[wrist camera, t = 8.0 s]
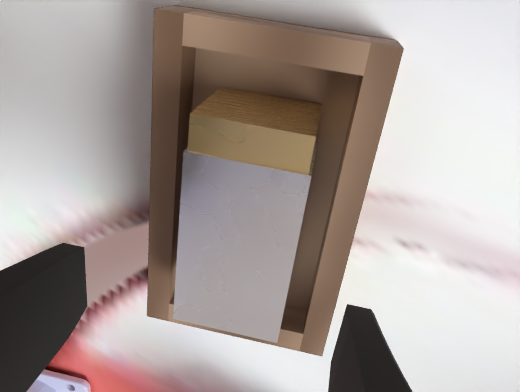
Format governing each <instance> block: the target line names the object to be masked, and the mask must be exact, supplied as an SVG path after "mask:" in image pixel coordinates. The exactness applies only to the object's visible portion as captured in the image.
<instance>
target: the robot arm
mask: <svg viewBox="0 0 520 392" xmlns="http://www.w3.org/2000/svg"><path fill="white" fill-rule="evenodd" d="M86 307H87V293H86V274H85V254H84V247H80V246H75V245H71V244H66V243H62V244H59V245H57V246H54V247H52V248H49V249H47V250H45V251H43V252H40V253H38V254H36V255H34V256H32V257H30V258H27V259H25V260H23V261H21V262H19V263H17V264H14V265H12V266H10V267H8V268H5V269H3V270H1V271H0V392H91V387H90V384H89V383H88V381H86V380H84V379H81V378H77V377H73V376H69V375H65V374H61V373H57V372H53V371H49V370H45V368H46V366H47V365H48V364H49V363H50V361H51V360H52V359H53V357H54V356H55V355H56V354H57V352H58V351H59V350H60V348H61V347H62V346H63V344H64V343H65V342H66V340H67V339H68V338H69V336H70V335H71V333H72V331H73V330H74V328H75V326H76V325H77V323H78V321H79V320H80V318H81V316H82V314H83V313H84V311H85V309H86ZM328 392H412V390H411V388H410V387H409V385H408V383H407V381H406V379H405V378H404V376H403V374H402V372H401V370H400V368H399V366H398V364H397V363H396V361H395V359H394V357H393V355H392V353H391V351H390V349H389V346H388V344H387V342H386V340H385V338H384V336H383V334H382V331H381V329H380V327H379V325H378V322H377V320H376V318H375V315H374V313H373V312H372V310H371V309H367V308H362V307H358V306H353V305H349V304H347V307H346V310H345V314H344V317H343V321H342V324H341V328H340V332H339V335H338V339H337V342H336V346H335V350H334V353H333V357H332V360H331V368H330V379H329V390H328Z"/></svg>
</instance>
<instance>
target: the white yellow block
mask: <svg viewBox="0 0 520 392" xmlns="http://www.w3.org/2000/svg"><path fill="white" fill-rule="evenodd" d="M321 109H322V104H317V103H311V102H306V101H300V100H295V99H289V98H283V97H278V96H272V95H267V94H261V93H255V92H250V91H244V90H239V89H233V88H227V87H220V88H219V89H218V90H217V91H216V92H215V93H213V94H212V95H211V96H210V97H209V98H207V99H206V100H205V101H204V102H203V103H202V104H200V105H199V106H198V107H197V108H196V109H194V110H193V111H192V112H191V113H190V121H189V136H188V147H187V148H186V149H185V150H184V151H183V166H182V182H181V198H180V214H179V231H178V247H177V263H176V279H175V295H174V312H173V319H175V320H180V321H184V322H188V323H192V324H197V325H201V326H205V327H210V328H214V329H218V330H223V331H227V332H231V333H236V334H240V335H244V336H248V337H253V338H257V339H261V340H266V341H270V342H274V343H277V342H278V337H279V332H280V327H281V323H282V318H283V313H284V308H285V303H286V298H287V293H288V288H289V284H290V279H291V274H292V269H293V264H294V259H295V254H296V249H297V245H298V240H299V235H300V230H301V225H302V220H303V215H304V211H305V206H306V201H307V196H308V191H309V186H310V181H311V176H312V171H313V165H314V160H315V154H316V149H317V144H318V138H319V135H317V130H318V125H319V120H320V115H321Z"/></svg>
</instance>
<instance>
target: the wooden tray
mask: <svg viewBox="0 0 520 392" xmlns="http://www.w3.org/2000/svg"><path fill="white" fill-rule="evenodd" d="M403 49H404V48H403V47H402V46H401V45H400V43H399V42H398V41H396V40H390V39H384V38H377V37H371V36H365V35H359V34H352V33H346V32H340V31H333V30H327V29H321V28H314V27H308V26H302V25H296V24H289V23H283V22H277V21H270V20H264V19H258V18H251V17H245V16H239V15H233V14H226V13H220V12H214V11H207V10H201V9H195V8H188V7H182V6H176V5H174V6H168V7H161V8H154V35H153V79H152V123H151V166H150V210H149V254H148V255H149V257H148V297H147V316H149V317H153V318H157V319H162V320H166V321H170V322H175V323H179V324H183V325H188V326H192V327H197V328H201V329H205V330H210V331H214V332H218V333H223V334H227V335H231V336H236V337H240V338H244V339H249V340H253V341H257V342H262V343H266V344H271V345H275V346H279V347H284V348H288V349H292V350H297V351H301V352H305V353H310V354H314V355H318V356H322V355H323V351H324V347H325V343H326V339H327V336H328V332H329V328H330V324H331V321H332V317H333V313H334V309H335V306H336V302H337V298H338V294H339V291H340V287H341V283H342V279H343V275H344V272H345V268H346V264H347V260H348V257H349V253H350V249H351V245H352V242H353V238H354V234H355V230H356V226H357V223H358V219H359V215H360V211H361V208H362V204H363V200H364V196H365V193H366V189H367V185H368V181H369V177H370V174H371V170H372V166H373V162H374V159H375V155H376V151H377V147H378V144H379V140H380V136H381V132H382V129H383V125H384V121H385V117H386V113H387V110H388V106H389V102H390V98H391V95H392V91H393V87H394V83H395V80H396V76H397V72H398V68H399V64H400V61H401V57H402V53H403ZM220 87H227V88H233V89H239V90H244V91H250V92H255V93H261V94H267V95H272V96H278V97H283V98H289V99H295V100H300V101H306V102H311V103H317V104H322V109H321V115H320V120H319V125H318V130H317V135H319V138H318V144H317V149H316V154H315V160H314V165H313V171H312V176H311V181H310V186H309V191H308V196H307V201H306V206H305V211H304V215H303V220H302V225H301V230H300V235H299V240H298V245H297V249H296V254H295V259H294V264H293V269H292V274H291V279H290V284H289V288H288V293H287V298H286V303H285V308H284V313H283V318H282V323H281V327H280V332H279V337H278V342H277V343H274V342H270V341H266V340H261V339H257V338H253V337H248V336H244V335H240V334H236V333H231V332H227V331H223V330H218V329H214V328H210V327H205V326H201V325H197V324H192V323H188V322H184V321H180V320H175V319H173V312H174V295H175V279H176V263H177V247H178V231H179V214H180V198H181V182H182V166H183V151H184V150H185V149H186V148H187V147H188V136H189V121H190V113H191V112H192V111H193V110H194V109H196V108H197V107H198V106H199V105H200V104H202V103H203V102H204V101H205V100H206V99H207V98H209V97H210V96H211V95H212V94H213V93H215V92H216V91H217V90H218V89H219V88H220Z"/></svg>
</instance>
